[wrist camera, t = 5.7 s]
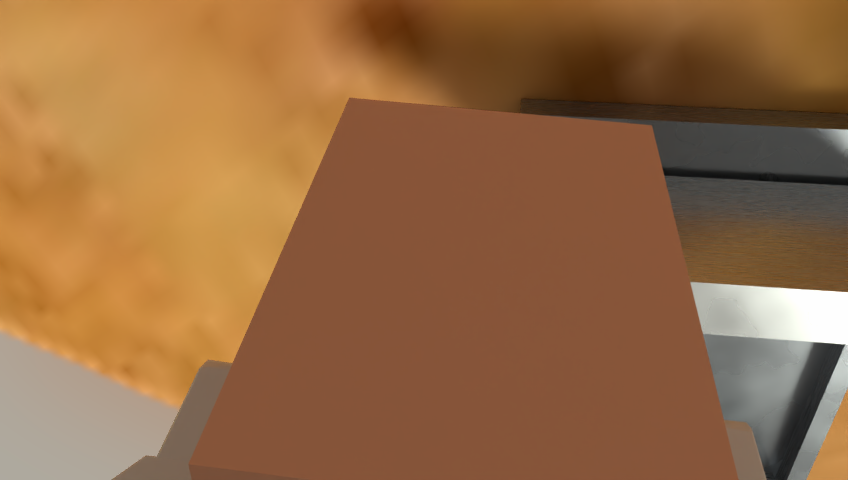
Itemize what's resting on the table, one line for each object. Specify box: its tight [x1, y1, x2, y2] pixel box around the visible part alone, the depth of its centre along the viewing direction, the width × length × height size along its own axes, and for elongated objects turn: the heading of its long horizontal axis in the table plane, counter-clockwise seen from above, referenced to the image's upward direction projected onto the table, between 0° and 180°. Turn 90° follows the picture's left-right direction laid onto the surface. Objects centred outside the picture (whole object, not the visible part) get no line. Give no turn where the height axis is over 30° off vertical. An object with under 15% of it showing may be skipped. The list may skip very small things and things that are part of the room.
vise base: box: [520, 99, 848, 480], centre depth 31 cm, size 22×14×8 cm, turn 0°
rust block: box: [188, 98, 739, 480], centre depth 10 cm, size 4×7×6 cm, turn 178°
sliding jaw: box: [664, 176, 848, 344], centre depth 26 cm, size 2×11×6 cm, turn 90°
